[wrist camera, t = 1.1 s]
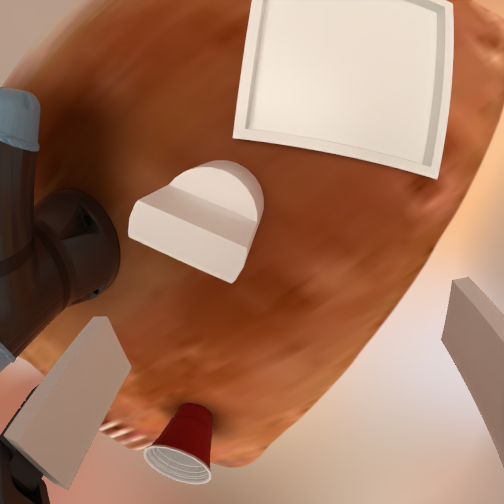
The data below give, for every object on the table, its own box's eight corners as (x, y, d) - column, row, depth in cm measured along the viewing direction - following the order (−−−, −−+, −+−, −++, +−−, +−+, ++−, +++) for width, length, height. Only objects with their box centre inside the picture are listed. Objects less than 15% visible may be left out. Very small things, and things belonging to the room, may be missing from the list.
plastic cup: (200, 386, 43) (178, 448, 32) (238, 424, 46) (226, 482, 35) (153, 398, 47) (127, 451, 36) (190, 433, 50) (173, 484, 39)
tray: (238, 137, 29) (232, 138, 27) (262, -31, 21) (259, -43, 19) (425, 174, 28) (437, 179, 25) (441, 11, 20) (452, 3, 17)
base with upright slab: (171, 222, 34) (118, 267, 23) (197, 147, 30) (145, 159, 19) (244, 254, 34) (221, 315, 23) (278, 180, 31) (269, 210, 20)
